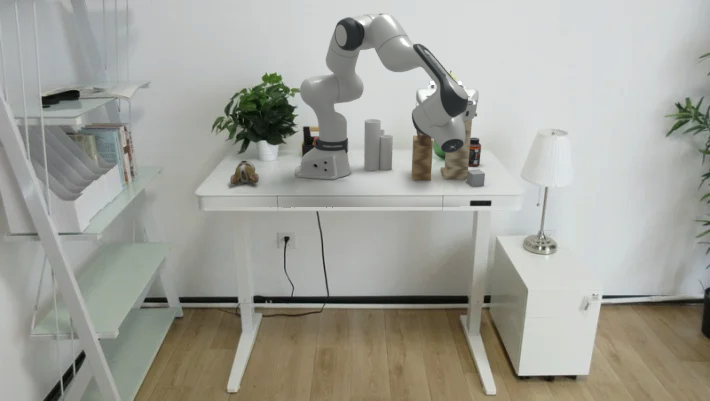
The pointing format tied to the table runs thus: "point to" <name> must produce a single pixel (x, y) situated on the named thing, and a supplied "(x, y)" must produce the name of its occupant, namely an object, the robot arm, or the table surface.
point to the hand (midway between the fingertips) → (445, 82)
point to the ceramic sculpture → (244, 173)
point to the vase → (377, 147)
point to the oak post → (421, 160)
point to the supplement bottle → (474, 152)
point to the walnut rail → (423, 139)
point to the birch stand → (458, 158)
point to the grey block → (475, 178)
